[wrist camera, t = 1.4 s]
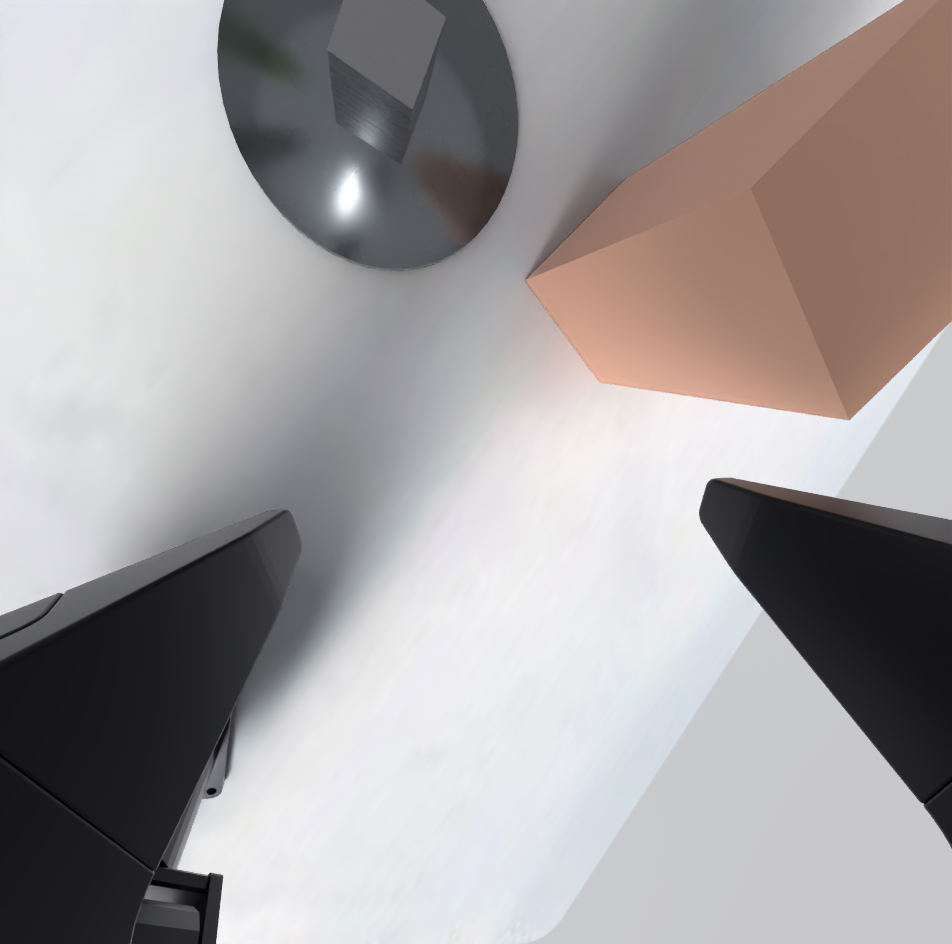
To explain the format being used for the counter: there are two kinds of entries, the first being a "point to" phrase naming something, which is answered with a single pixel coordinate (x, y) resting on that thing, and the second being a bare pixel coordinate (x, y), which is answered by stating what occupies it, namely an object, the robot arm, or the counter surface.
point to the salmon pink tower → (781, 236)
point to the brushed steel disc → (372, 120)
